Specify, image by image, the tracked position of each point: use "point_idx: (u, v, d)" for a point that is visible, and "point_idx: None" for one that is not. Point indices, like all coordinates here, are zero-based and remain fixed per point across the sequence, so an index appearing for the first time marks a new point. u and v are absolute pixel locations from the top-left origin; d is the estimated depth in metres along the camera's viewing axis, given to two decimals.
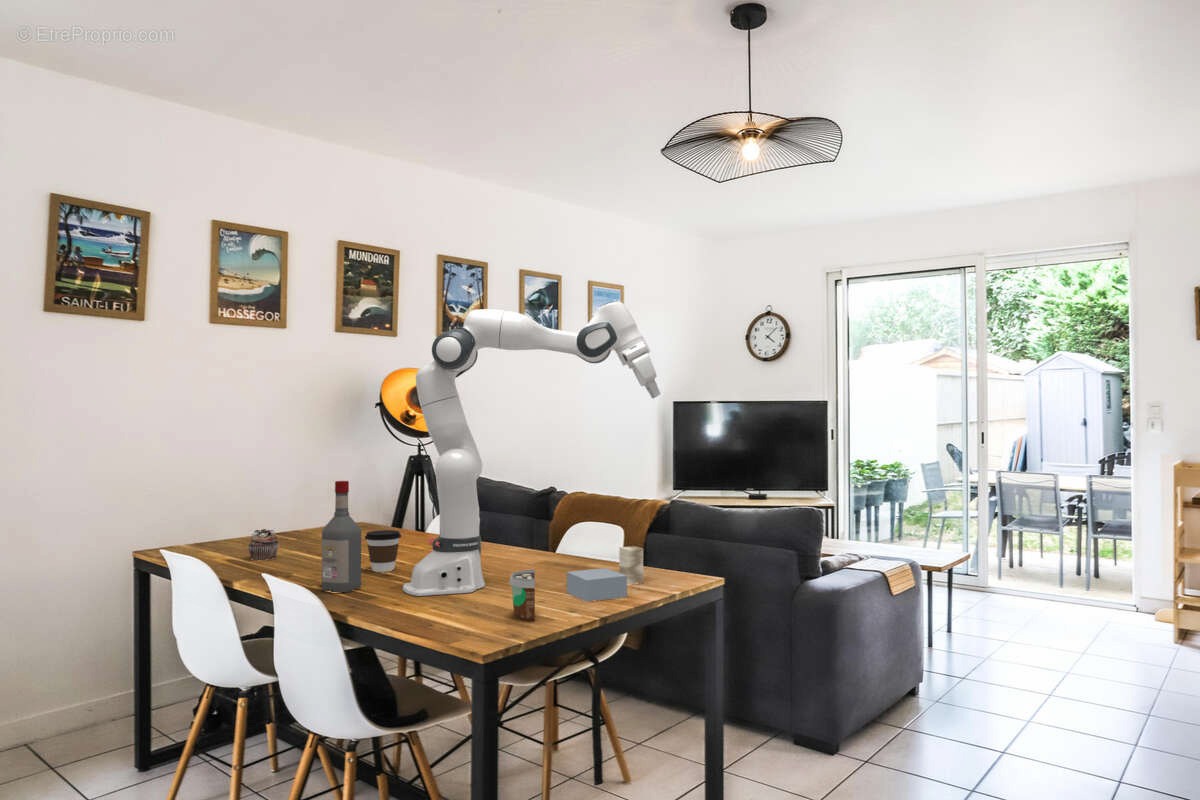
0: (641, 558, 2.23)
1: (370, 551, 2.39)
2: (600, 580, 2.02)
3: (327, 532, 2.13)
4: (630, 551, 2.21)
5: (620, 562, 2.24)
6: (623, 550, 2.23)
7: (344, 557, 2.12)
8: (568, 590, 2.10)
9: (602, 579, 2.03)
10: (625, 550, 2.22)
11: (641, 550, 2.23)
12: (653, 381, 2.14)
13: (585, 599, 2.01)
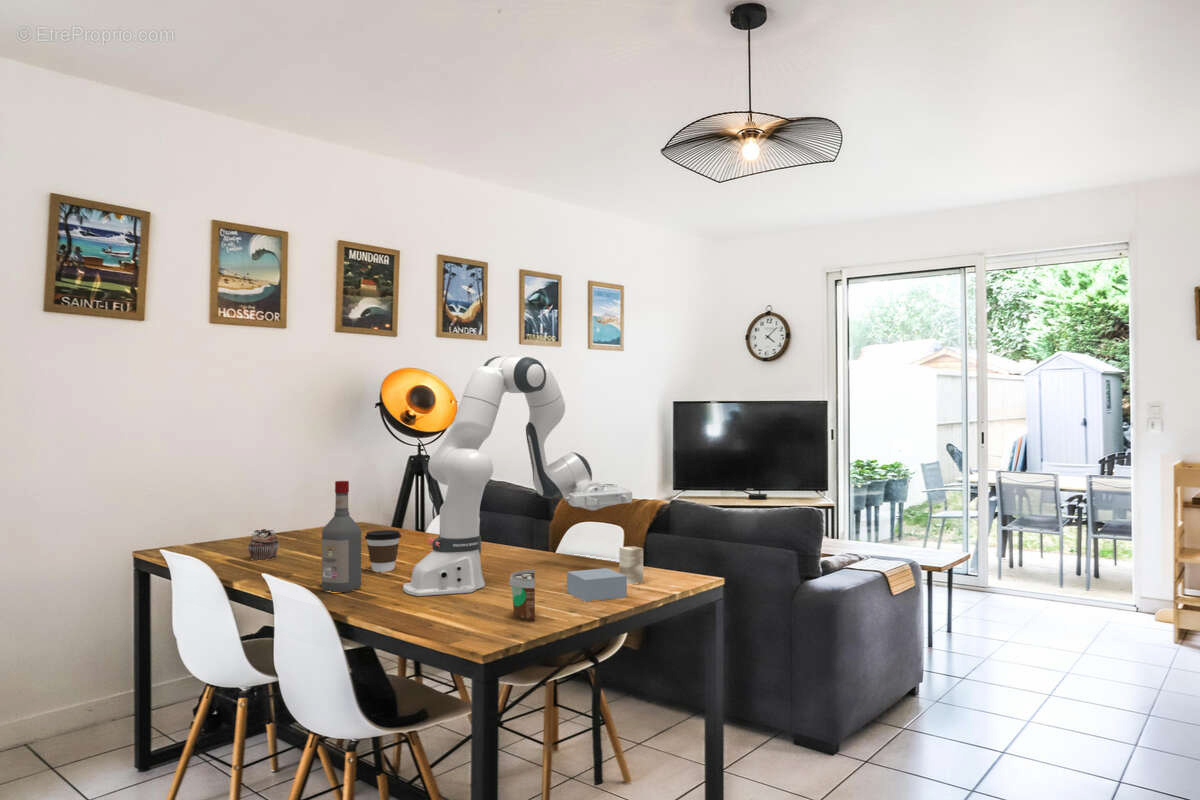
0: (641, 558, 2.23)
1: (370, 551, 2.39)
2: (599, 580, 2.02)
3: (327, 531, 2.13)
4: (630, 551, 2.21)
5: (620, 562, 2.24)
6: (623, 550, 2.23)
7: (344, 557, 2.12)
8: (569, 590, 2.10)
9: (601, 579, 2.03)
10: (625, 550, 2.22)
11: (641, 550, 2.23)
12: None
13: (584, 599, 2.01)
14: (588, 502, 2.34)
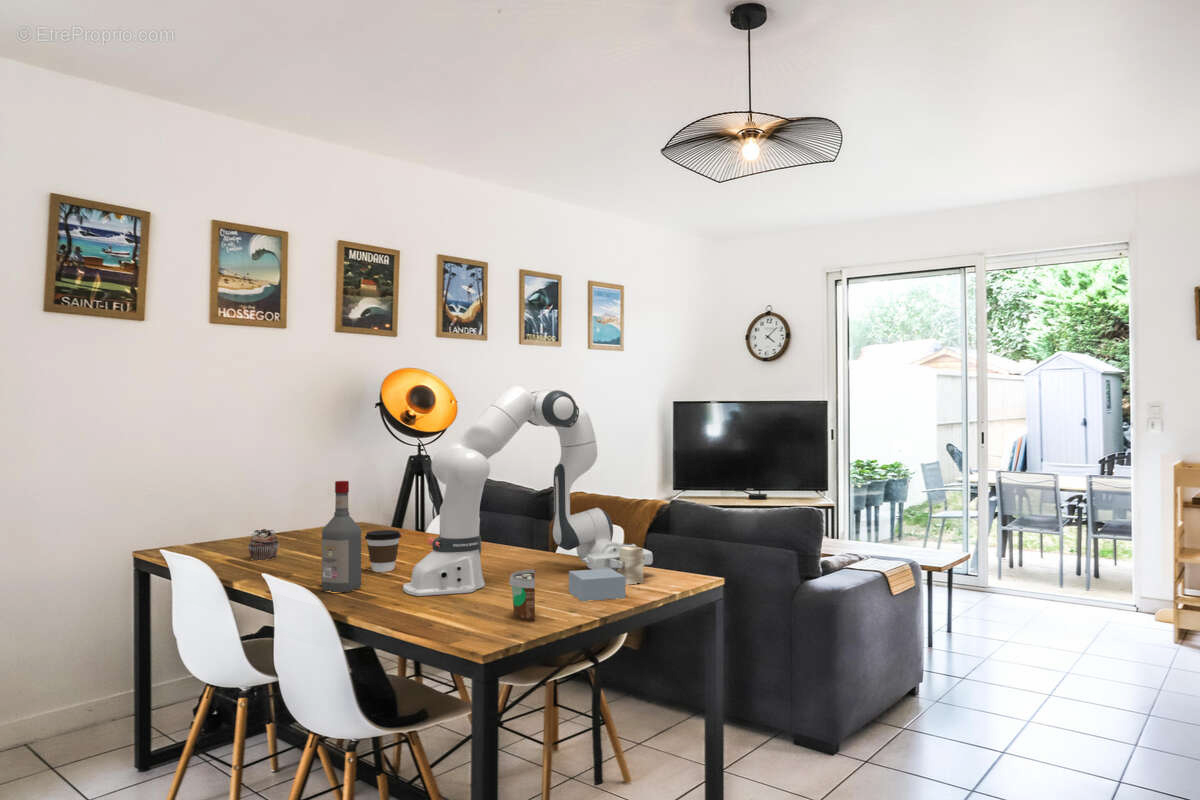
0: (641, 558, 2.23)
1: (370, 551, 2.39)
2: (596, 580, 2.02)
3: (327, 531, 2.13)
4: (630, 551, 2.21)
5: None
6: (623, 550, 2.23)
7: (344, 557, 2.12)
8: (570, 590, 2.11)
9: (598, 579, 2.02)
10: (625, 550, 2.22)
11: (641, 550, 2.23)
12: None
13: (581, 599, 2.01)
14: (613, 565, 2.24)
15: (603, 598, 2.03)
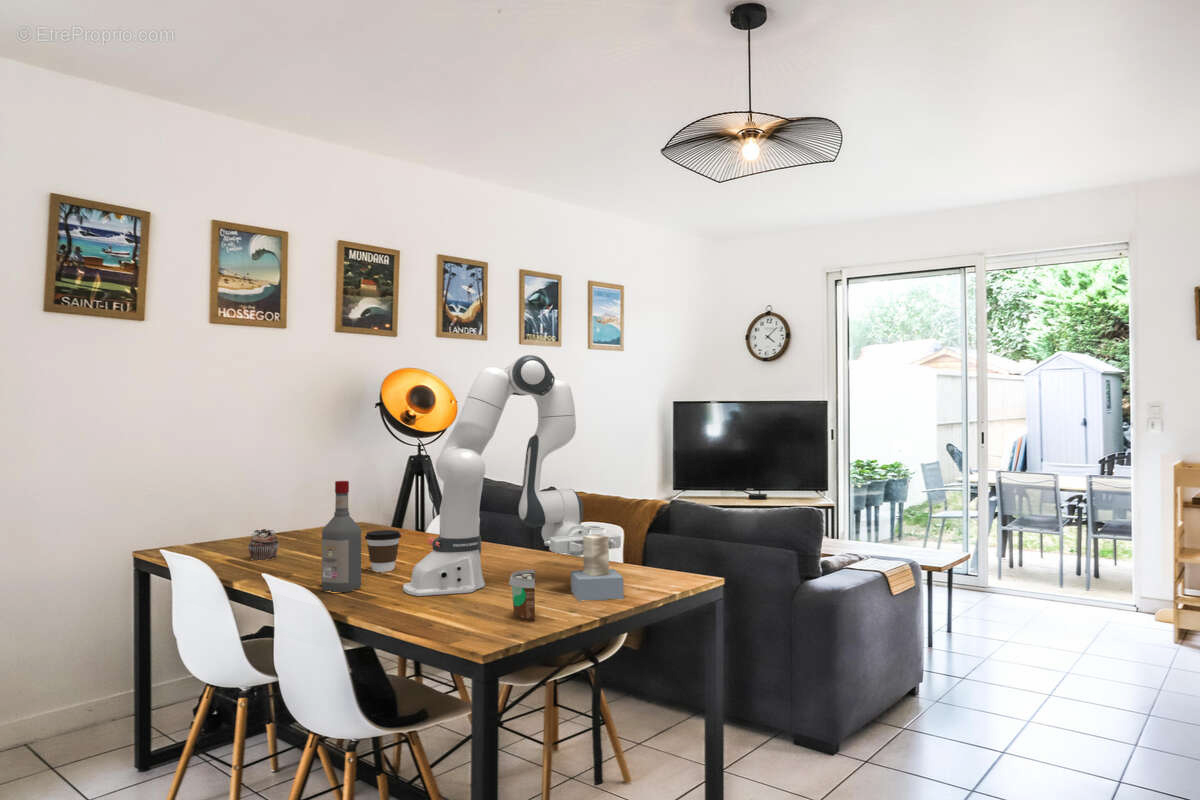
0: (606, 547, 2.07)
1: (370, 551, 2.39)
2: (593, 580, 2.02)
3: (327, 532, 2.13)
4: (594, 539, 2.06)
5: (584, 552, 2.09)
6: (587, 539, 2.08)
7: (344, 557, 2.12)
8: (571, 589, 2.12)
9: (595, 579, 2.02)
10: (589, 539, 2.07)
11: (606, 538, 2.08)
12: None
13: (577, 598, 2.02)
14: (571, 548, 2.08)
15: (600, 598, 2.03)
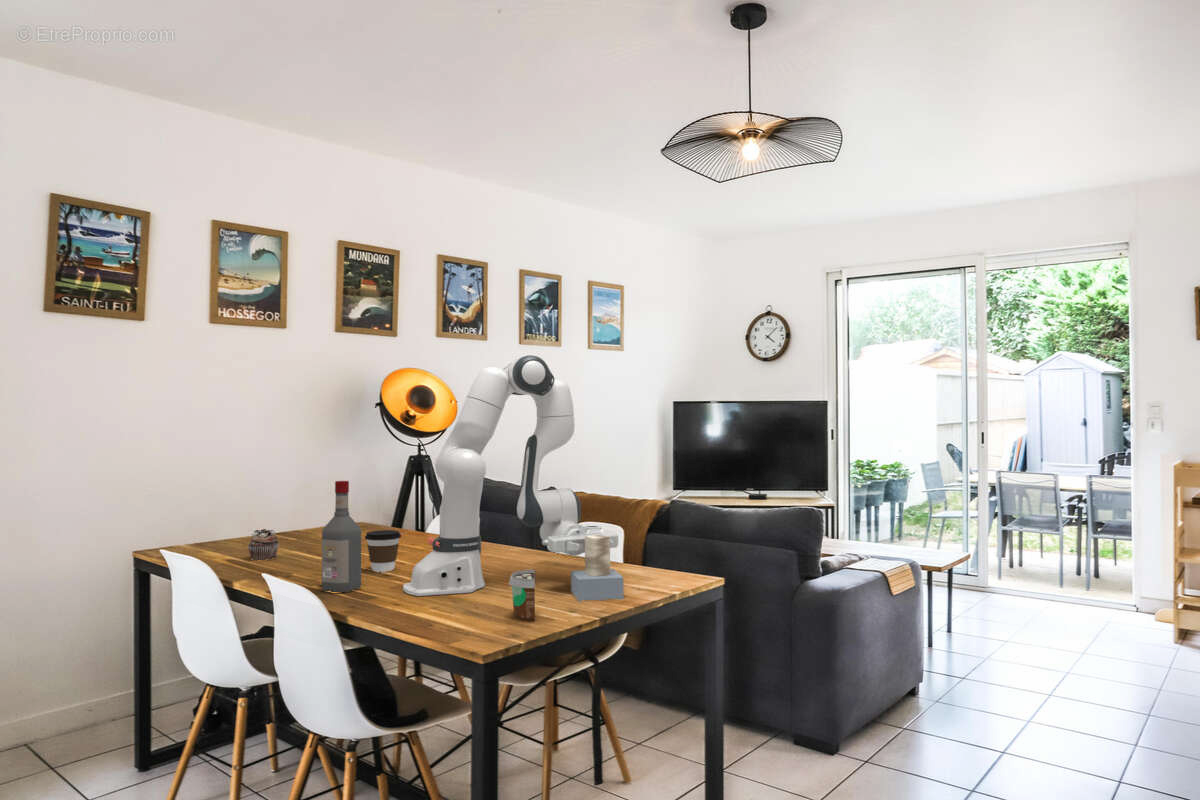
0: (608, 547, 2.07)
1: (370, 551, 2.39)
2: (593, 580, 2.02)
3: (327, 531, 2.13)
4: (596, 540, 2.06)
5: (585, 552, 2.09)
6: (588, 539, 2.08)
7: (344, 557, 2.12)
8: (571, 589, 2.12)
9: (595, 579, 2.02)
10: (590, 539, 2.07)
11: (608, 539, 2.07)
12: None
13: (577, 598, 2.02)
14: (569, 547, 2.09)
15: (600, 598, 2.03)
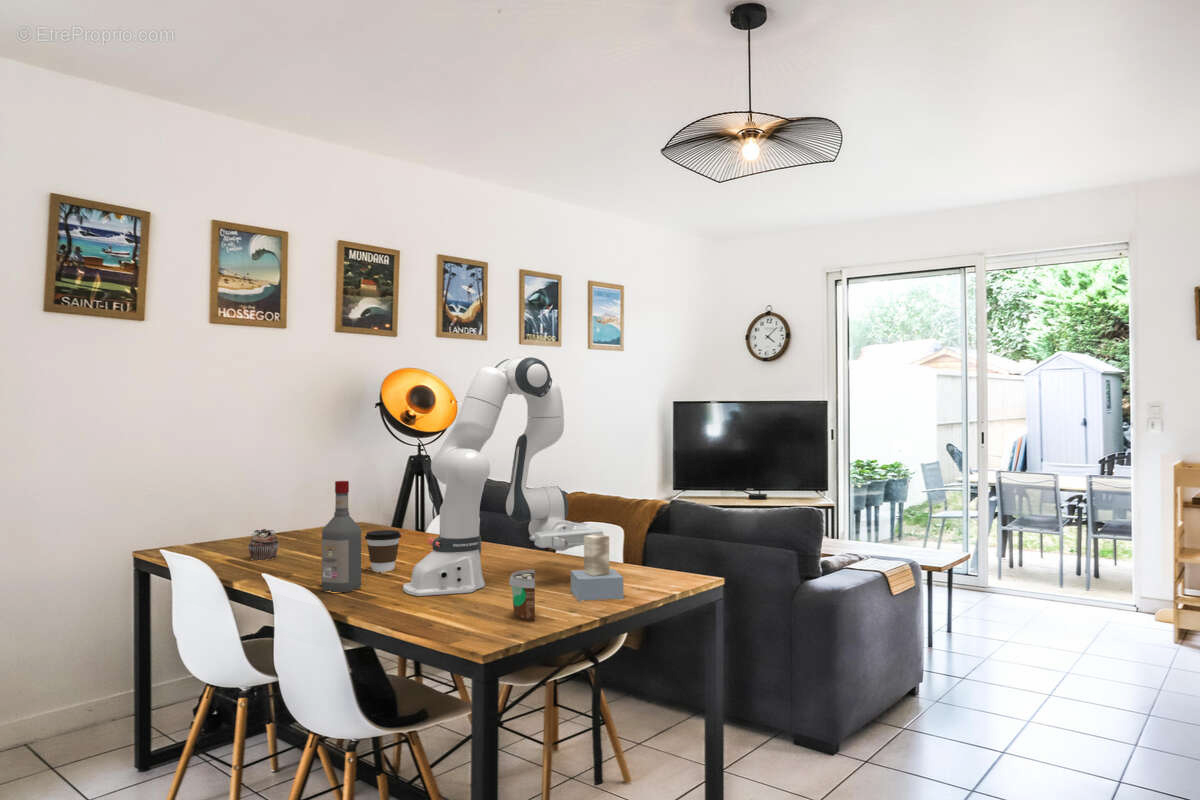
0: (607, 547, 2.08)
1: (370, 551, 2.39)
2: (593, 580, 2.02)
3: (327, 532, 2.13)
4: (595, 539, 2.06)
5: (585, 551, 2.09)
6: (588, 538, 2.08)
7: (344, 557, 2.12)
8: (571, 589, 2.12)
9: (595, 579, 2.02)
10: (590, 538, 2.07)
11: (607, 538, 2.08)
12: None
13: (577, 598, 2.02)
14: (555, 543, 2.17)
15: (600, 598, 2.03)
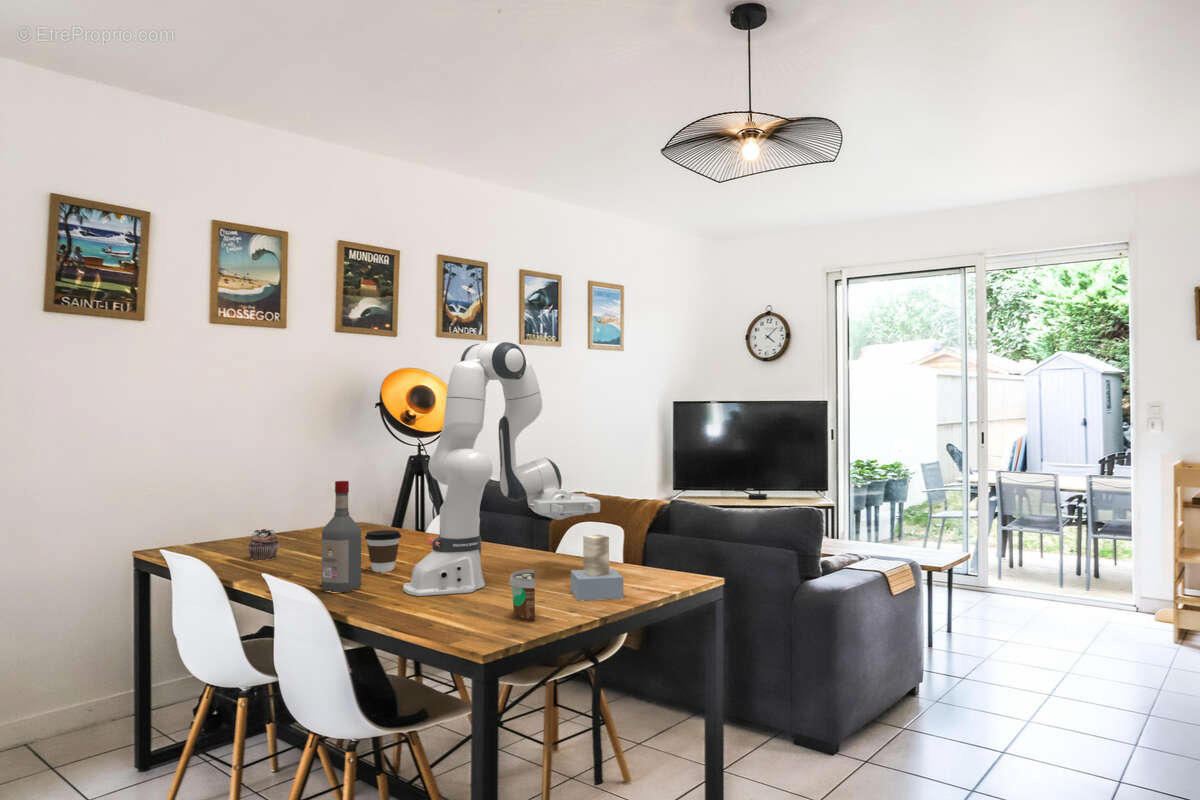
0: (607, 547, 2.08)
1: (370, 551, 2.39)
2: (593, 580, 2.02)
3: (327, 532, 2.13)
4: (595, 539, 2.06)
5: (584, 552, 2.09)
6: (587, 539, 2.08)
7: (344, 557, 2.12)
8: (571, 589, 2.12)
9: (595, 579, 2.03)
10: (590, 538, 2.07)
11: (607, 538, 2.08)
12: None
13: (577, 598, 2.02)
14: (553, 509, 2.23)
15: (600, 598, 2.03)
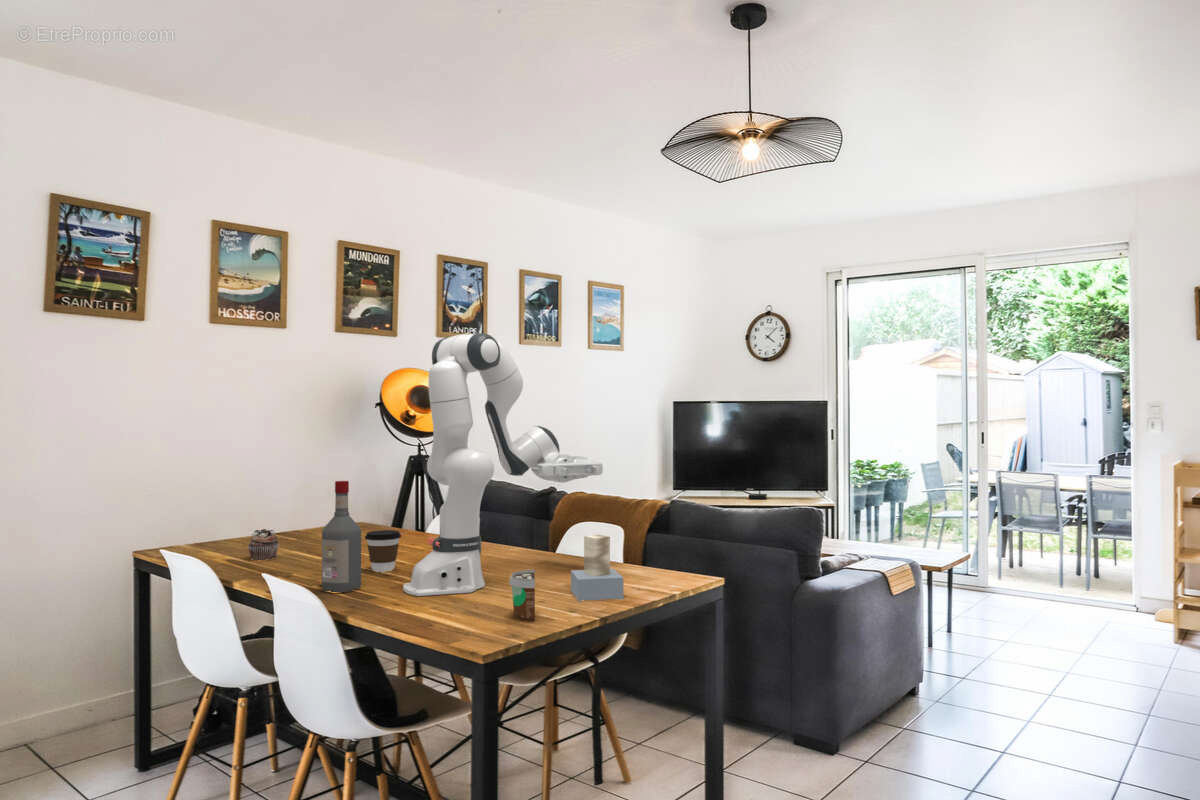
0: (608, 547, 2.08)
1: (370, 551, 2.39)
2: (593, 580, 2.02)
3: (327, 532, 2.13)
4: (596, 539, 2.06)
5: (585, 552, 2.09)
6: (588, 539, 2.08)
7: (344, 557, 2.12)
8: (571, 589, 2.12)
9: (595, 579, 2.02)
10: (591, 539, 2.07)
11: (608, 538, 2.08)
12: None
13: (577, 598, 2.02)
14: (557, 472, 2.28)
15: (600, 598, 2.03)
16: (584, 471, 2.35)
